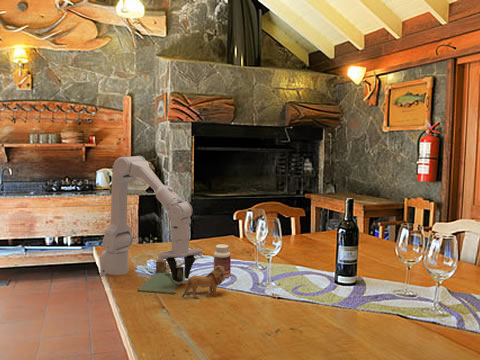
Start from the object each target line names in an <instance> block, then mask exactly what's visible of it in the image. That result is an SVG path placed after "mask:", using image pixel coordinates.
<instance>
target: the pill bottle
mask: <svg viewBox="0 0 480 360" xmlns="http://www.w3.org/2000/svg"><path fill="white" fill-rule="evenodd" d="M229 248H230V247H229V245H228V244H217V245H215V252H214V253H213V268H214V267H217V266H223V267H224V270H225V276H224V279H225V278H228V277H230V276H231V265H232V264H231V260H232V259H231V257H232V254H231V252H230V251H229Z"/></svg>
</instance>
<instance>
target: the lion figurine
mask: <svg viewBox="0 0 480 360" xmlns="http://www.w3.org/2000/svg"><path fill="white" fill-rule="evenodd" d="M224 276H225V270H224V267H223V266H217V267H214V266H213V269H212V271H210V273H208V274H207V275H197V274H196V275H192V276H189V278H188V280H187V281H186V284H185V288H184V293H183V294H182V296H181V298H185V296H190V293H188V292H189V291H190V290H191V289H192V293H191V294H192V295H193V297H194V298H195V299H199V298H200V296H199V295H197V293H196V292H197V290H198V286H199V287H201V288H206V289H207V288H209V291H208V292H209V294H212V295H213V297H218V294H217V287H218V286H220V285H221V284H222V283H223V282H224V279H225V278H224Z"/></svg>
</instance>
